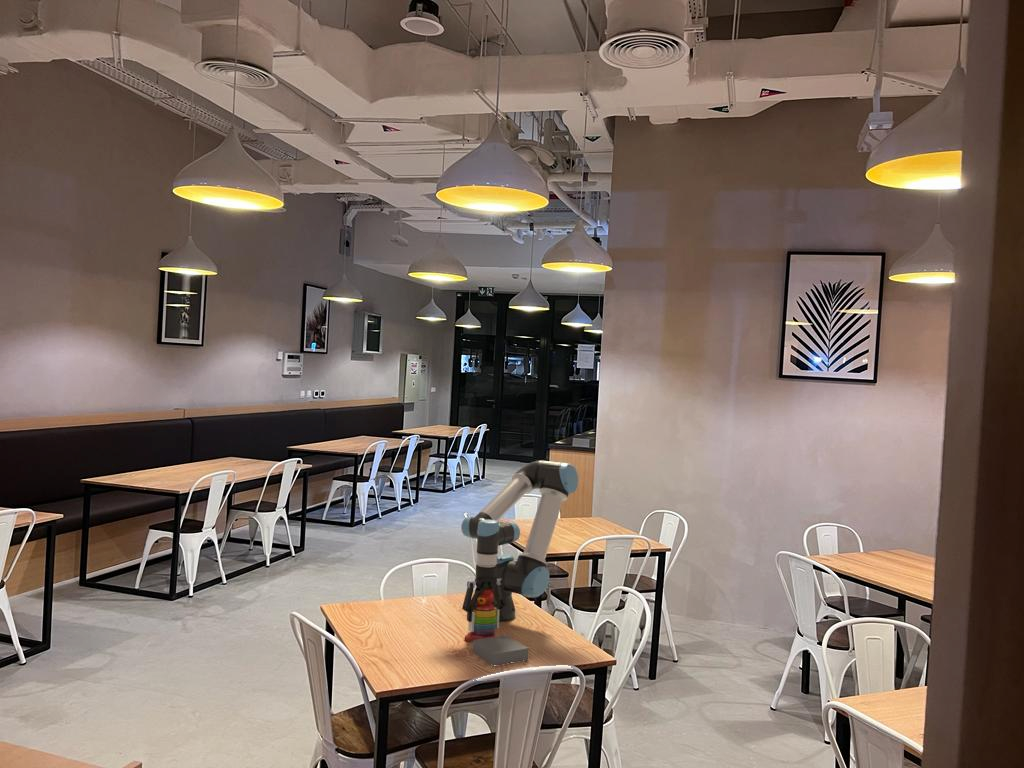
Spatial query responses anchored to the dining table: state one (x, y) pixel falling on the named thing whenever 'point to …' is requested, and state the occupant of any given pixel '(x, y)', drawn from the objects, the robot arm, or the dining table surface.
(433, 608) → the dining table surface
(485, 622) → the stacking bear
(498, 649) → the grey block
